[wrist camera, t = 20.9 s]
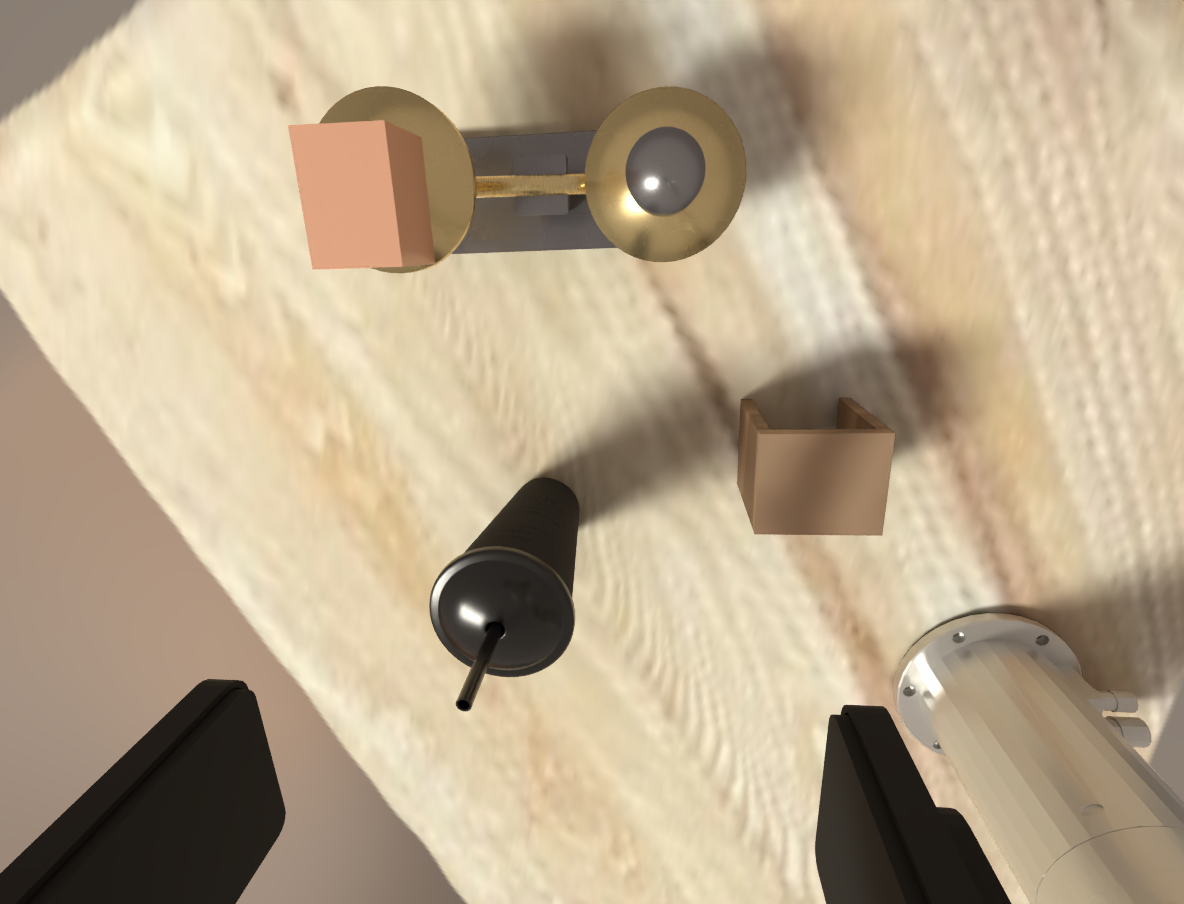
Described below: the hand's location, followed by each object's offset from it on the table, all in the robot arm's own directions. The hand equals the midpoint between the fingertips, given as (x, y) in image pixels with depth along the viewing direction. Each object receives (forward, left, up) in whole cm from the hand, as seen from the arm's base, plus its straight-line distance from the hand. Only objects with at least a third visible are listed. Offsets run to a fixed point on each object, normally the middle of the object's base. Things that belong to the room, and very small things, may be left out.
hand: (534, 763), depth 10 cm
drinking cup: (+6, +10, -32) cm, 35 cm away
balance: (+4, -11, -32) cm, 34 cm away
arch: (-11, +5, -32) cm, 35 cm away
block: (+11, -13, -20) cm, 26 cm away
